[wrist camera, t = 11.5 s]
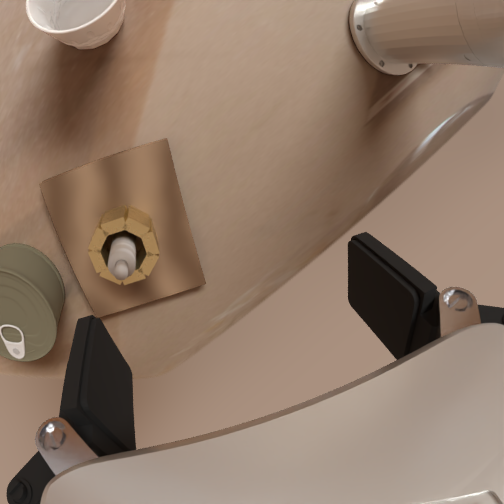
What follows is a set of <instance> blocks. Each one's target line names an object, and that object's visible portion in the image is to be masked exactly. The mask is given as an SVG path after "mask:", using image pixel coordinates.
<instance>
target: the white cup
mask: <svg viewBox="0 0 504 504" xmlns="http://www.w3.org/2000/svg"><path fill="white" fill-rule="evenodd" d="M125 3H126V0H26V12H27V16H28V18H29V20H30V22H31V23H32V24H33V25H34V26H35V27H36V28H38V29H39V30H41V31H43V32H45V33H46V34H48V35H50V36H51V37H53V38H55V39H57V40H59V41H61V42H63V43H65V44H67V45H70V46H73V47H75V48H77V49H94V48H96V47H98V46H101V45H103V44H105V43H107V42H108V41H109V40H110V39H111V38H113V37H114V36H115V35H116V34H117V33H118V31H119V29H120V27H121V25H122V23H123V21H124V11H125Z"/></svg>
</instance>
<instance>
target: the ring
mask: <svg viewBox="0 0 504 504" xmlns="http://www.w3.org/2000/svg"><path fill="white" fill-rule="evenodd" d="M123 230H126V231H128V232H130V233H132V234H134V235H136V236H138V237H140V238H142V241H143V245H142V247H141V249H140V250H139V252H136V267H135V271H134V273H133V274H132V275H131V276H129V277H127V278H126V279H125V280H118V279H116V278H115V276H113V275H112V274H111V273H110V271H109V269H108V260H109V255H110V249H109V246H108V244H107V241H106V238H107V236H108V235H111V234H114V233H117V232H120V231H123ZM88 249H89V251H88V254H89V256H90V259H91V261H92V263H93V266H94V268H95V270H96V273H99V272H100V276H101V277H103V278H105V279H108V280H110V281H112V282H115V283H117V284H119V285H121V283H122V281H123V283H124V285H127V284H130V283H133V282H136V281H139V280H143V279H146V276H145V275H147V276H149V275H150V273H151V271H152V269H153V267H154V266H155V264H156V262H157V260H158V258H159V253H160V252H159V245H158V238H157V234H156V231H155V228H154V225H153V221H152V218H149V214H147V213H145V212H143V211H141V210H139V209H137V208H135V207H133V206H131V205H129V207H128V209H127V207H126V205H123V206H120V207H117V208H114V209H111V210H108V211H105V213H104V214H102V216H101V218H100V220H99V222H98V224H97V226H96V228H95V230H94V233H93V235H92V238H91V241H90V244H89V247H88Z"/></svg>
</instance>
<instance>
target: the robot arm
mask: <svg viewBox="0 0 504 504" xmlns="http://www.w3.org/2000/svg"><path fill="white" fill-rule="evenodd" d="M349 23H350V30H351V33H352V37H353V40H354V42H355V44H356V46H357V48H358V50H359V51H360V53H361V54H362V56H363V57H364V58H365V59H366V60H367V62H368V63H370V64H371V65H372V66H373V67H374V68H376V69H377V70H379V71H381V72H383V73H386V74H390V75H403V74H407V73H408V72H410V71H412V70H413V69H414V68H415V67H416V65H417V64H460V65H476V66H487V67H498V68H504V0H355V1H354V2H353V4H352V6H351V10H350V17H349ZM436 289H437V287H436V285H434V284H433V283H432V282H431V281H430V280H428V279H427V278H426V277H425V276H423V275H422V274H421V273H420V272H418V271H417V270H416V269H415V268H413V267H412V266H411V265H409V264H408V263H407V262H406V261H404V260H403V259H402V258H400V257H399V256H398V255H396V254H395V253H394V252H393V251H391V250H390V249H389V248H387V247H386V246H385V245H383V244H382V243H381V242H379V241H378V240H377V239H375V238H374V237H373V236H371V235H370V234H369V233H367V232H364V233H361V234H358V235H355V236H353V237H352V238H351V241H349V242H348V300H349V303H350V305H351V307H352V308H353V309H354V310H355V311H356V312H357V313H358V315H359V316H360V317H361V318H362V319H363V320H364V322H365V323H366V324H367V325H368V326H369V327H370V328H371V330H372V331H373V332H374V333H375V334H376V336H377V337H378V338H379V339H380V340H381V342H382V343H383V344H384V345H385V346H386V347H387V349H388V350H389V351H390V352H391V353H392V354H393V356H394V357H395V358H396V359H397V360H396V361H394V362H393V363H390V364H389V365H387V366H385V367H383V368H381V369H379V370H376V371H375V372H372V373H370V374H368V375H366V376H364V377H362V378H360V379H357V380H355V381H354V382H351V383H349V384H346V385H344V386H342V387H340V388H337V389H335V390H333V391H330V392H328V393H325V394H323V395H321V396H318V397H316V398H313V399H311V400H308V401H306V402H303V403H301V404H298V405H295V406H292V407H290V408H287V409H285V410H282V411H279V412H276V413H273V414H270V415H267V416H264V417H261V418H258V419H256V420H252V421H249V422H246V423H242V424H239V425H236V426H233V427H229V428H226V429H223V430H219V431H215V432H212V433H208V434H204V435H201V436H196V437H193V438H188V439H185V440H180V441H175V442H171V443H166V444H162V445H157V446H153V447H148V448H143V449H138V450H136V443H135V429H134V414H133V385H132V372H131V369H130V367H129V365H128V364H127V362H126V361H125V359H124V358H123V356H122V354H121V353H120V351H119V350H118V348H117V346H116V345H115V343H114V341H113V340H112V338H111V336H110V335H109V333H108V331H107V330H106V328H105V326H104V324H103V323H102V321H101V319H100V318H95V317H94V316H93V315H91V316H87V317H84V318H80V319H78V321H77V325H76V329H75V334H74V338H73V343H72V347H71V352H70V357H69V361H68V364H67V369H66V374H65V380H64V386H63V393H62V400H61V406H60V414H59V417H53V418H50V419H48V420H46V421H45V422H43V423H42V425H41V426H40V427H39V429H38V431H37V433H36V438H35V442H36V446H37V449H38V450H39V451H38V452H37V453H36V454H35V455H34V456H33V457H32V458H31V459H30V461H29V462H28V463H27V464H26V465H25V466H24V467H23V468H22V469H21V470H20V471H19V472H18V474H17V475H16V476H15V477H14V478H13V479H12V480H11V482H10V483H9V485H8V488H7V500H8V503H9V504H504V308H500V307H492V306H484V305H478V304H477V300H476V298H475V296H474V295H473V294H472V293H471V292H470V291H468V290H466V289H464V288H460V287H449V288H446V289H444V290H443V291H442V292H441V293H439V292H438V291H437V290H436Z"/></svg>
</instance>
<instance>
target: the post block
mask: <svg viewBox="0 0 504 504" xmlns="http://www.w3.org/2000/svg"><path fill="white" fill-rule="evenodd" d="M39 185H40V188H41V191H42V194H43V197H44V200H45V202H46V205H47V208H48V211H49V213H50V216H51V219H52V221H53V224H54V226H55V229H56V232H57V234H58V236H59V239H60V241H61V244H62V246H63V248H64V251H65V253H66V255H67V258H68V260H69V262H70V264H71V266H72V269H73V271H74V273H75V275H76V277H77V279H78V281H79V284H80V286H81V288H82V290H83V292H84V294H85V296H86V298H87V300H88V302H89V304H90V305H91V307H92V309H93V311H94V313H95V315H96V317H97V318H99V317H103V316H106V315H109V314H112V313H116V312H119V311H122V310H125V309H129V308H132V307H135V306H138V305H141V304H145V303H148V302H151V301H154V300H157V299H160V298H164V297H167V296H170V295H173V294H176V293H179V292H183V291H186V290H189V289H192V288H195V287H198V286H201V285H204V284H206V282H205V278H204V275H203V272H202V268H201V265H200V261H199V258H198V254H197V251H196V247H195V244H194V240H193V237H192V233H191V229H190V226H189V222H188V218H187V215H186V211H185V207H184V204H183V200H182V196H181V192H180V188H179V184H178V180H177V176H176V173H175V169H174V165H173V160H172V156H171V152H170V148H169V144H168V140H167V138H165V139H162V140H158V141H155V142H151V143H148V144H145V145H141V146H138V147H135V148H132V149H129V150H125V151H122V152H119V153H116V154H113V155H110V156H107V157H105V158H102V159H99V160H96V161H93V162H90V163H88V164H85V165H82V166H80V167H77V168H74V169H72V170H69V171H67V172H64V173H62V174H59V175H57V176H54V177H52V178H49V179H47V180H45V181H43V182H42V183H40V184H39ZM123 205H126V207H127V209H128V207H129V205H131V206H133V207H135V208H137V209H139V210H141V211H143V212H145V213H147V214H149V218H152V221H153V225H154V228H155V231H156V234H157V238H158V245H159V252H160V253H159V258H158V260H157V262H156V264H155V266H154V267H153V269H152V271H151V273H150V275H149V276H147V275H145V276H146V279H143V280H139V281H136V282H133V283H130V284H127V285H124V283H123V281H122V283H121V285H119V284H117V283H115V282H112V281H110V280H108V279H105V278H103V277H101V276H100V272H99V273H96V270H95V268H94V266H93V263H92V261H91V259H90V256H89V254H88V251H89V249H88V247H89V244H90V241H91V238H92V235H93V233H94V230H95V228H96V226H97V224H98V222H99V220H100V218H101V216H102V214H104V213H105V211H108V210H111V209H114V208H117V207H120V206H123ZM106 241H107V244H108V246H109V249H110V255H109V260H108V269H109V271H110V273H111V274H112V275H113V276H115V278H116V279H118V280H125V279H126V278H127V277H129V276H131V275H132V274H133V273H134V271H135V267H136V252H139V250H140V249H141V247H142V245H143V241H142V238H140V237H138V236H136V235H134V234H132V233H130V232H128V231H126V230H123V231H120V232H117V233H114V234H111V235H108V236H107V238H106Z"/></svg>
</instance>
